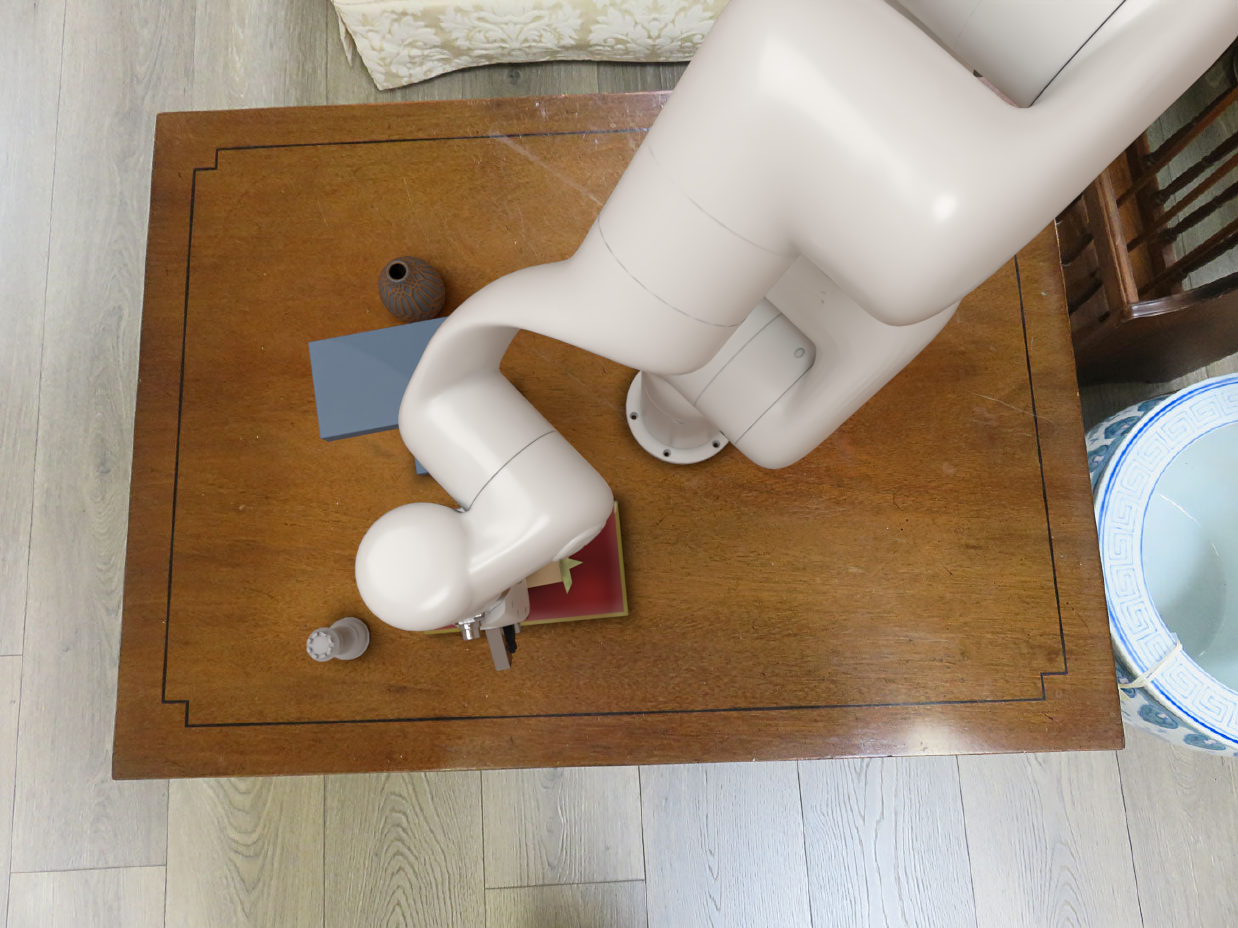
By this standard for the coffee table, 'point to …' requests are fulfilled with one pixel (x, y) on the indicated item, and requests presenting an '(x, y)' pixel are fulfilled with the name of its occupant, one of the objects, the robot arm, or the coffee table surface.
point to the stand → (366, 378)
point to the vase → (411, 289)
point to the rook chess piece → (339, 640)
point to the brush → (545, 575)
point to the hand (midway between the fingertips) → (504, 567)
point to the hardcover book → (581, 583)
